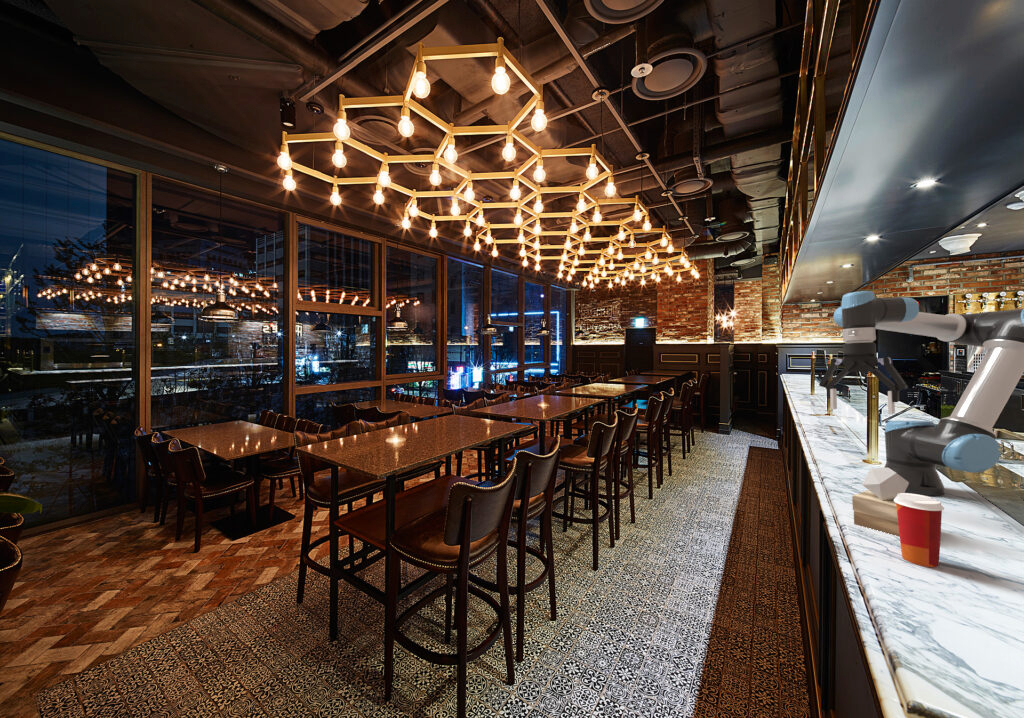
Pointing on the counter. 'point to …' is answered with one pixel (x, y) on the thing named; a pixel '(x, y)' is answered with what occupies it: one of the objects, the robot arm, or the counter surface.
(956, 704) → the counter surface
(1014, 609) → the counter surface
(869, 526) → the tower base slab
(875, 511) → the tower top slab
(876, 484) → the die
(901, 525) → the paper cup
